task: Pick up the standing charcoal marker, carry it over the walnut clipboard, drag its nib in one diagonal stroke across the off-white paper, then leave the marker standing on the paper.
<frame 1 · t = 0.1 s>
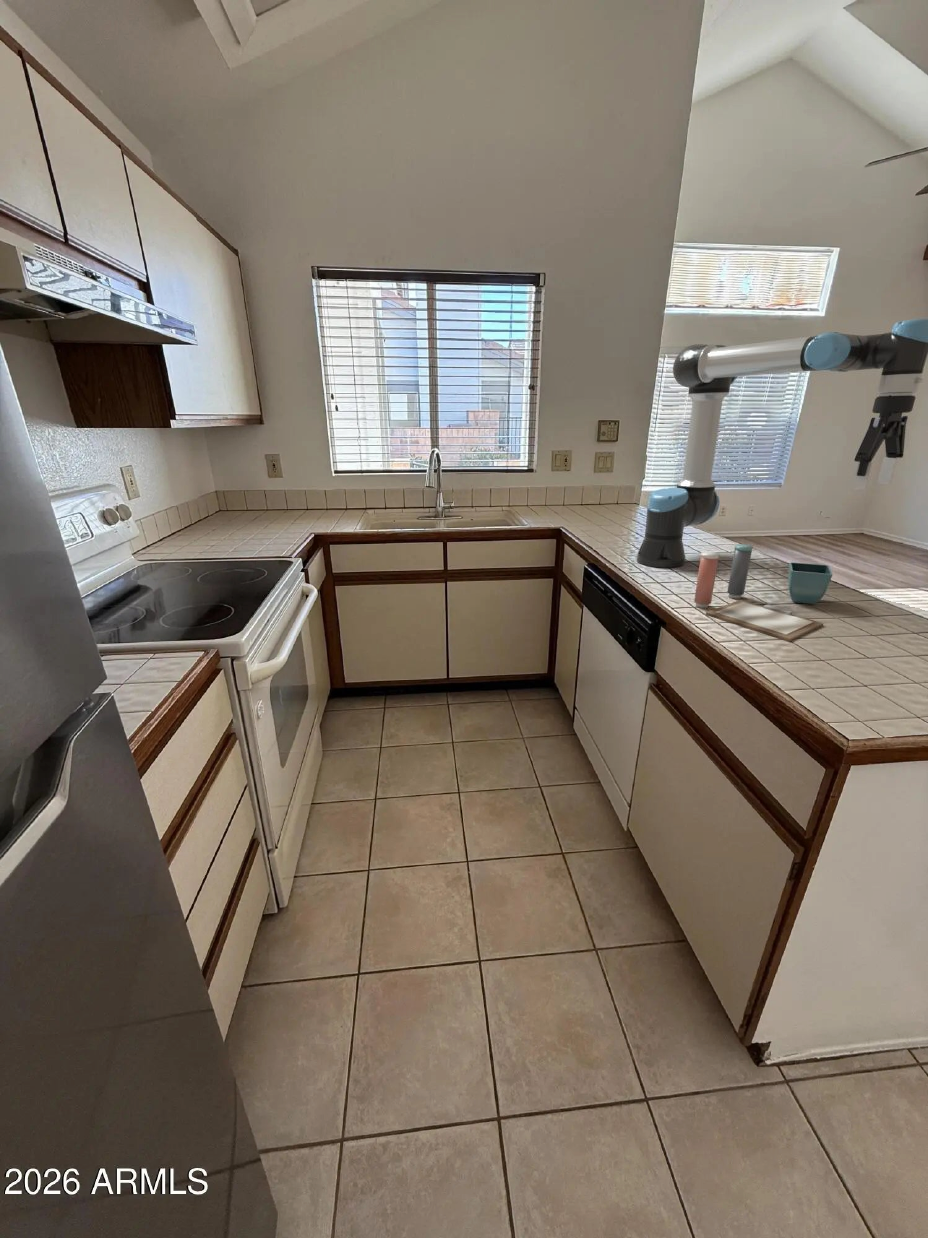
hand: (871, 486, 129), 28 cm above the counter, fingers open, 13 cm apart
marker: (734, 596, 139), on the counter
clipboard: (762, 619, 123), on the counter
pink bottle: (701, 606, 133), on the counter
flower pot: (802, 601, 135), on the counter
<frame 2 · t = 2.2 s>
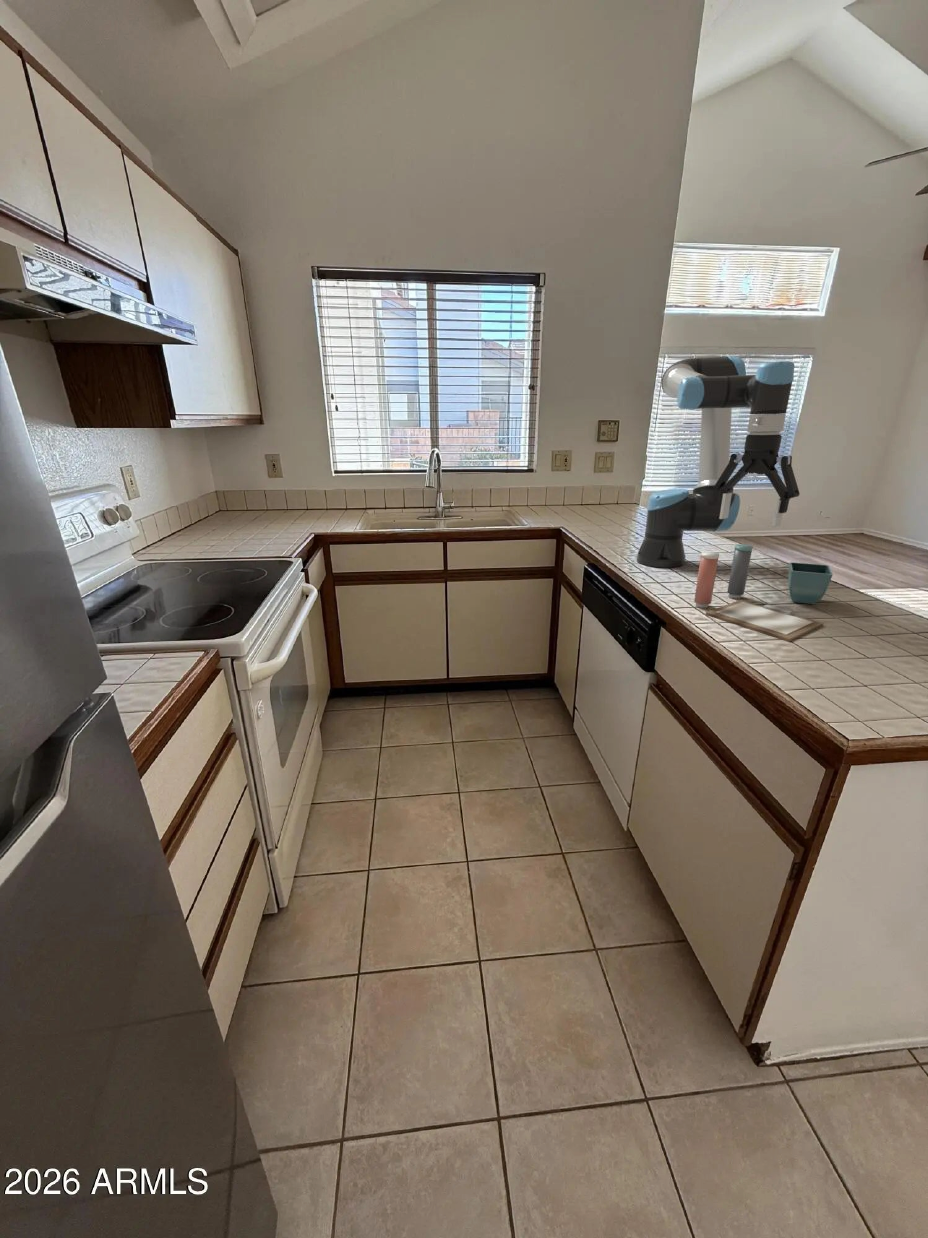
hand: (748, 522, 131), 20 cm above the counter, fingers open, 13 cm apart
nothing on the counter moved.
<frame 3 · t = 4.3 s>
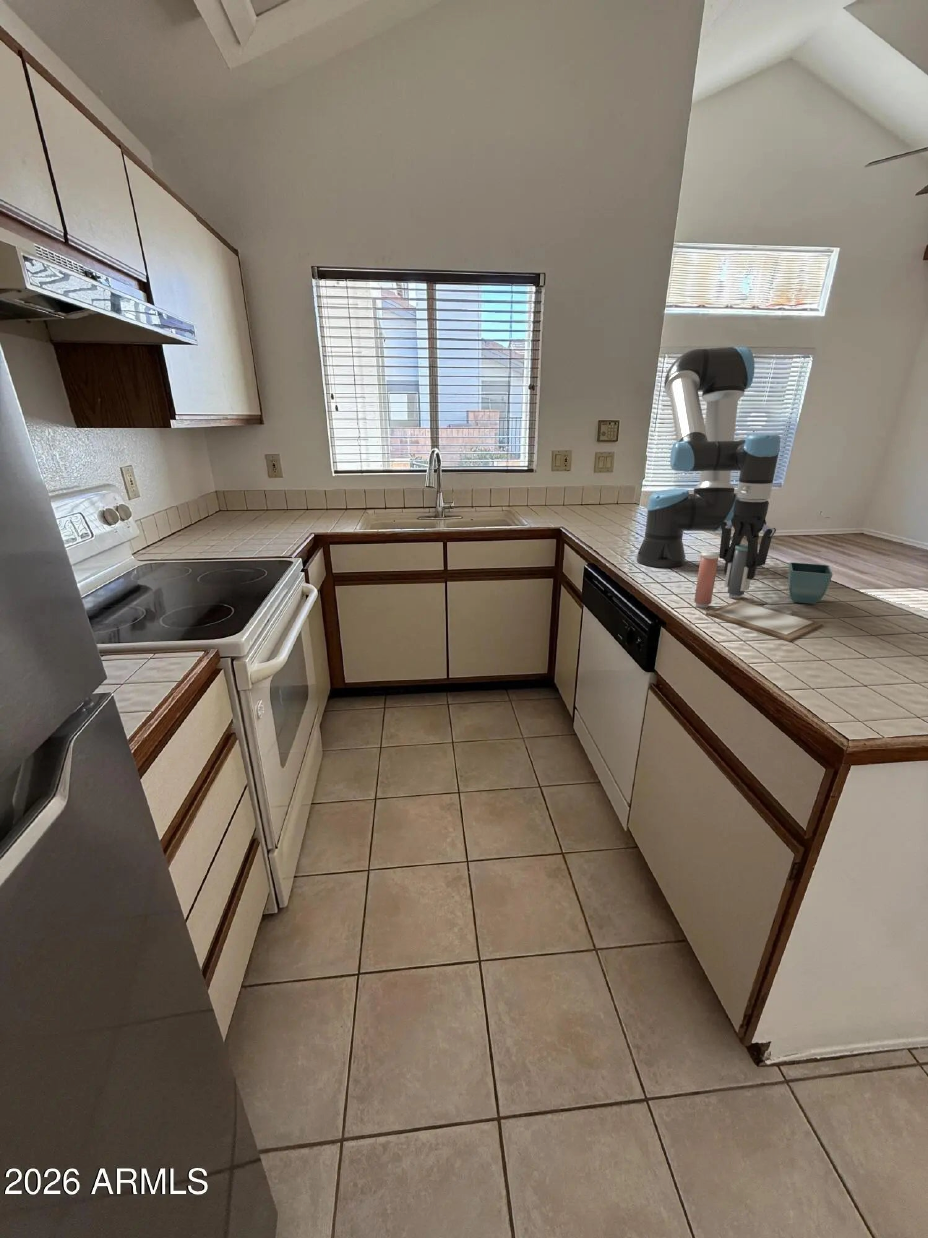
hand: (736, 587, 137), 3 cm above the counter, fingers closed on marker, 4 cm apart
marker: (734, 596, 138), on the counter, touching gripper
everything else where it was.
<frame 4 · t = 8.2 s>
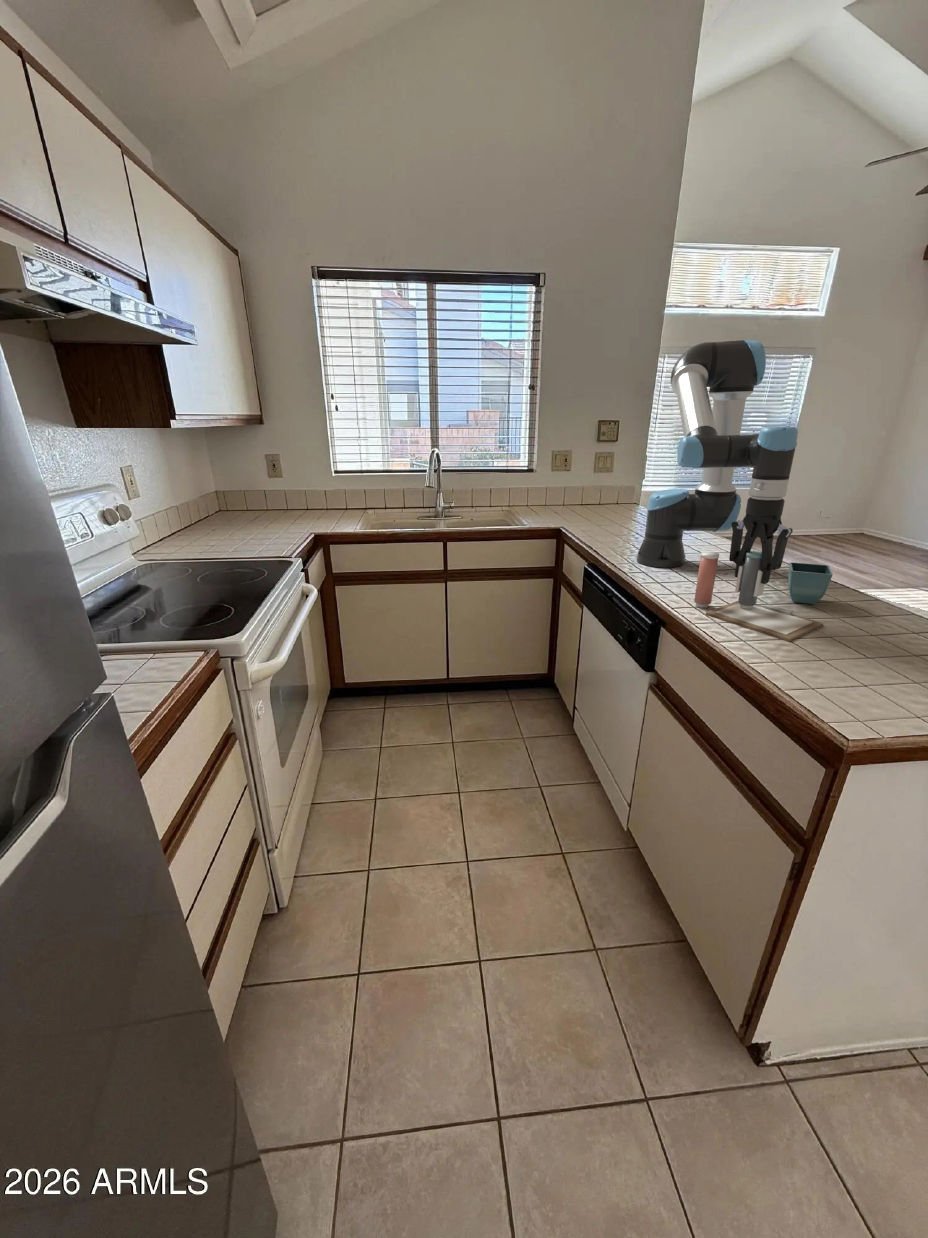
hand: (748, 592, 127), 5 cm above the counter, fingers closed on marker, 4 cm apart
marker: (746, 607, 129), point 1 cm above the counter, touching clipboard, gripper
everything else where it was.
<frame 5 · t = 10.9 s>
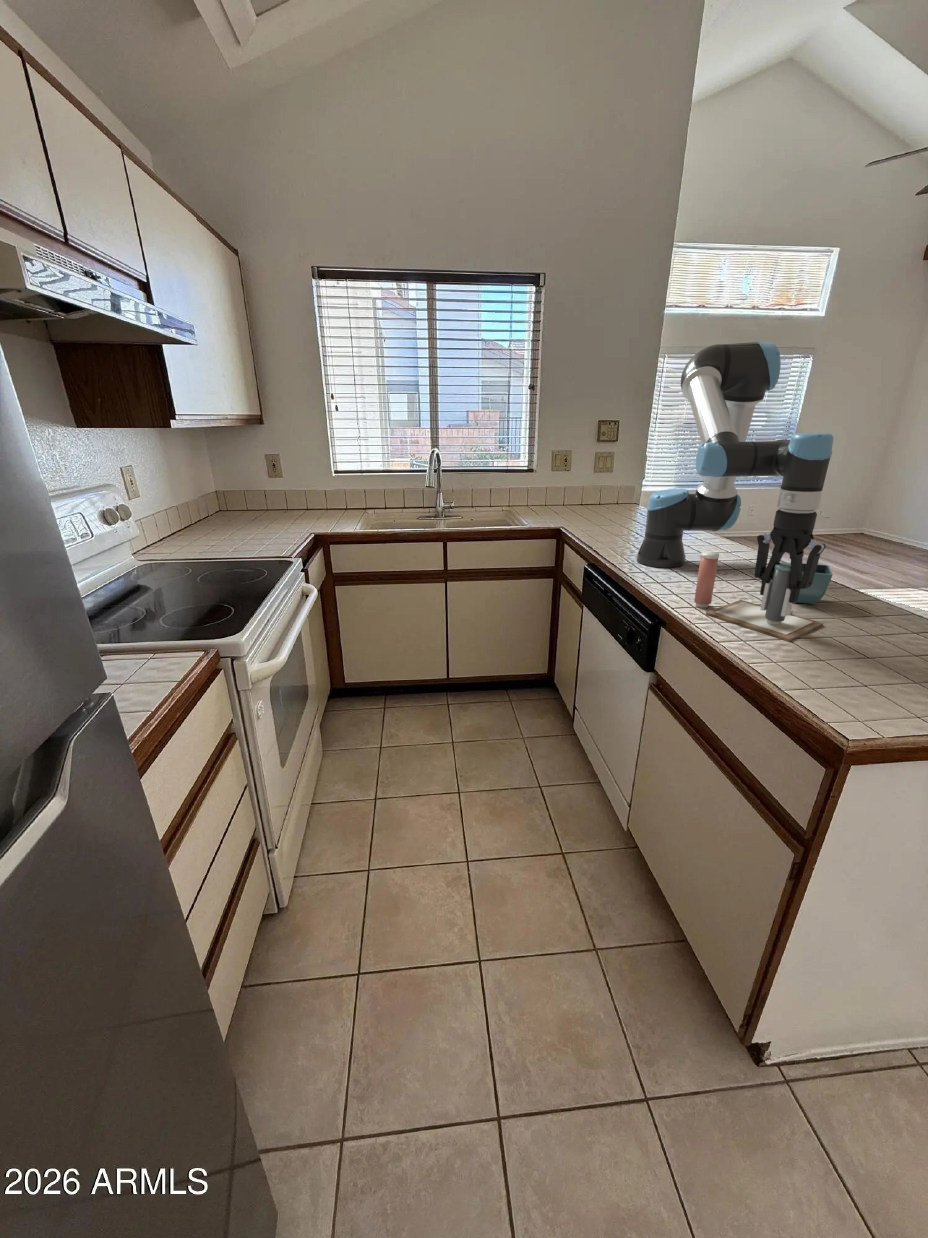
hand: (775, 611, 118), 4 cm above the counter, fingers closed on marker, 4 cm apart
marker: (773, 622, 119), point 1 cm above the counter, touching gripper
everything else where it was.
when the fingers open (4 cm above the counter, at t = 12.4 s): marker stays where it is, resting on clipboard.
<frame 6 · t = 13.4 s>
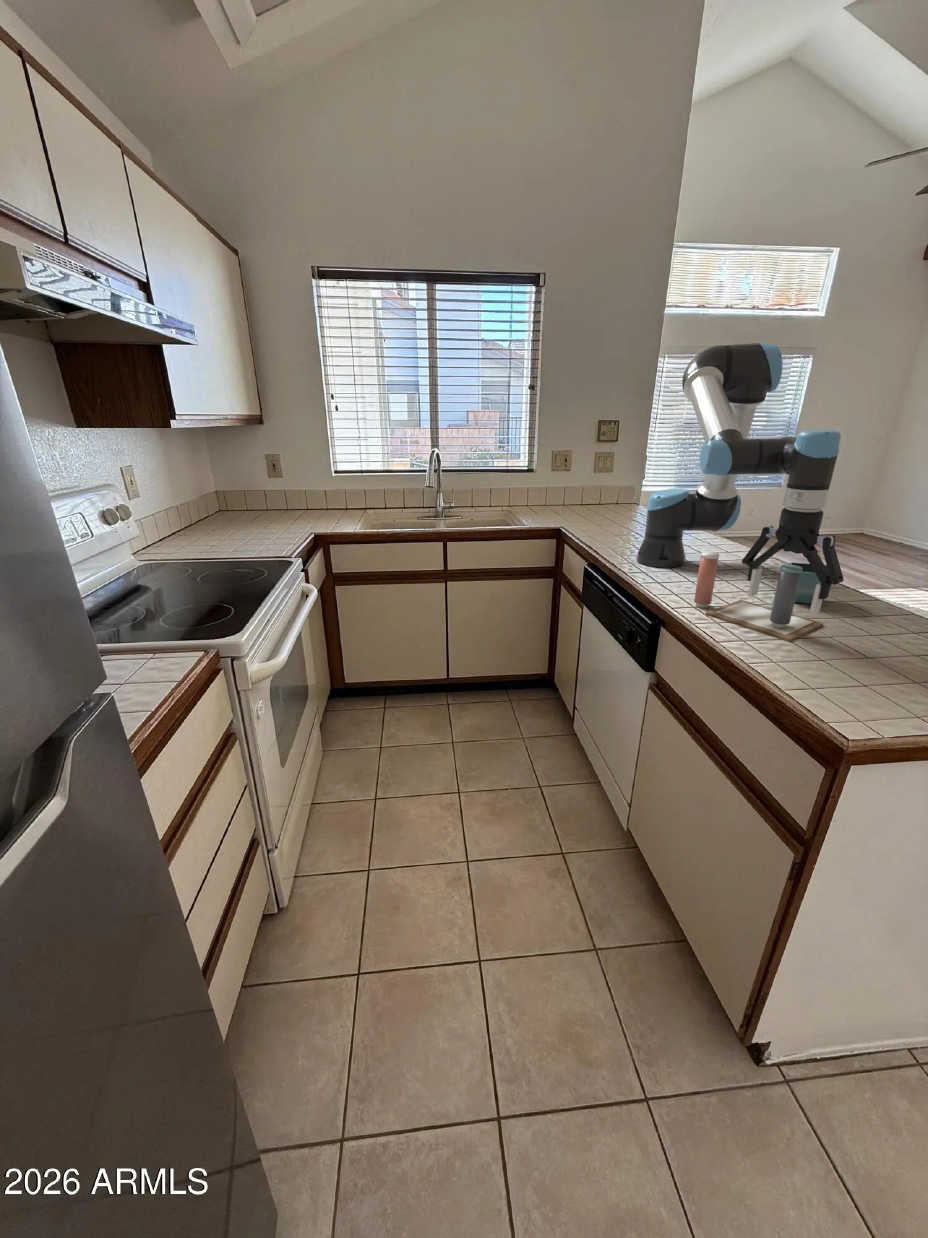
hand: (782, 603, 116), 6 cm above the counter, fingers open, 13 cm apart
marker: (778, 625, 118), point 1 cm above the counter, touching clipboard
everything else where it was.
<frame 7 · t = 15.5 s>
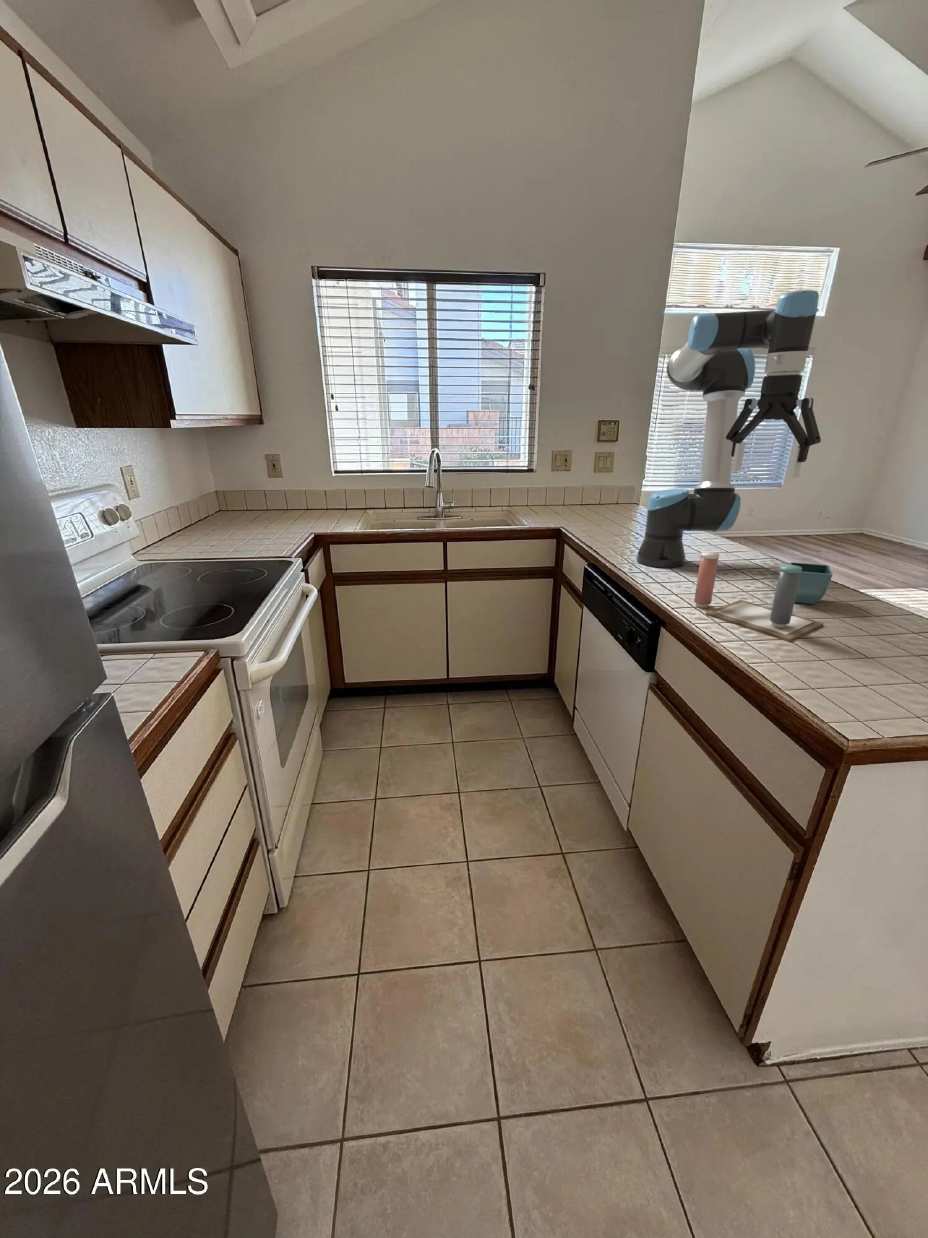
hand: (763, 473, 121), 33 cm above the counter, fingers open, 13 cm apart
nothing on the counter moved.
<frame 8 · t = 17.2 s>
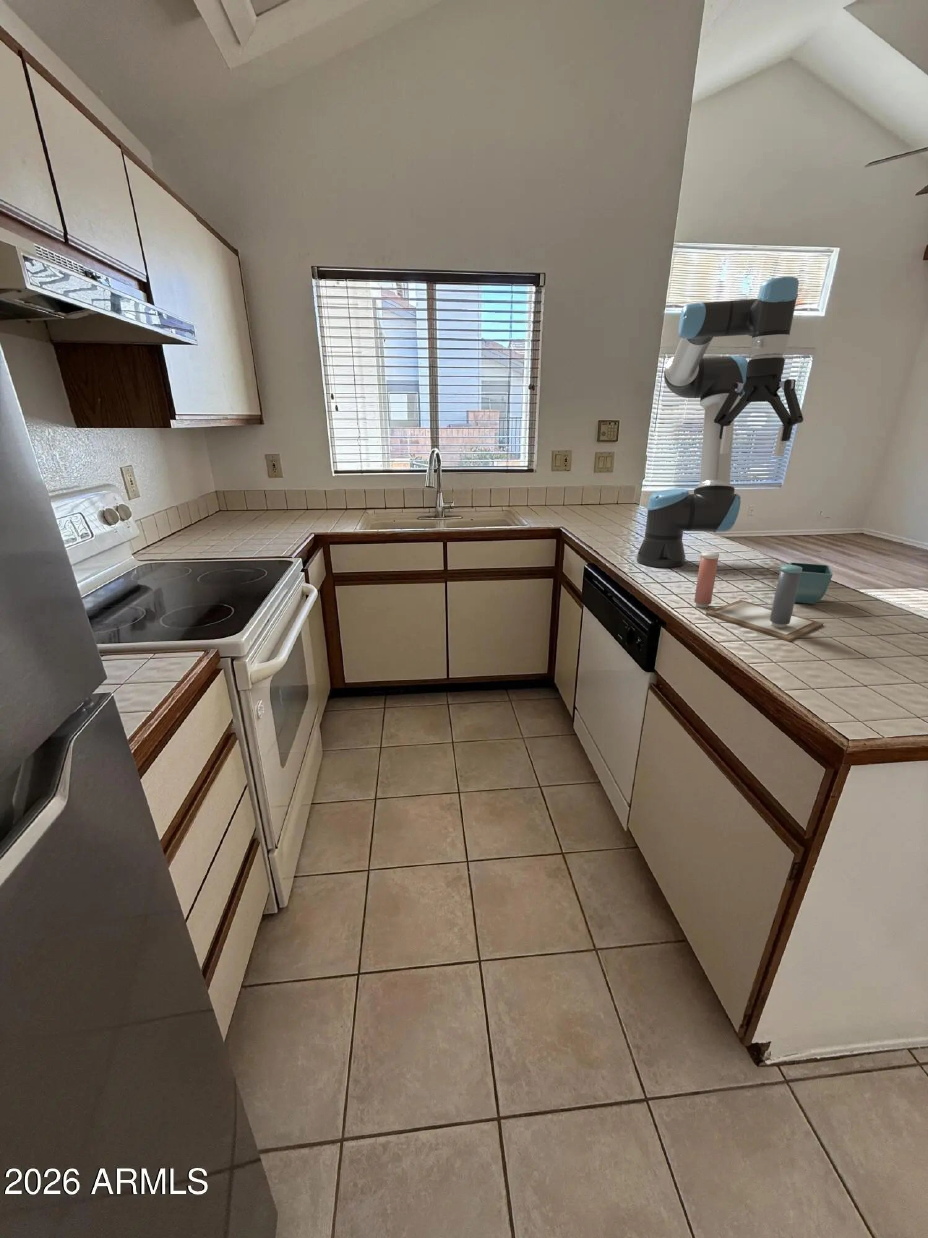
hand: (750, 454, 126), 37 cm above the counter, fingers open, 13 cm apart
nothing on the counter moved.
at the end: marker inside the target area (5.7 cm from its centre), point 0.8 cm above the counter; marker moved 22.0 cm from its start; the gripper is holding nothing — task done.
